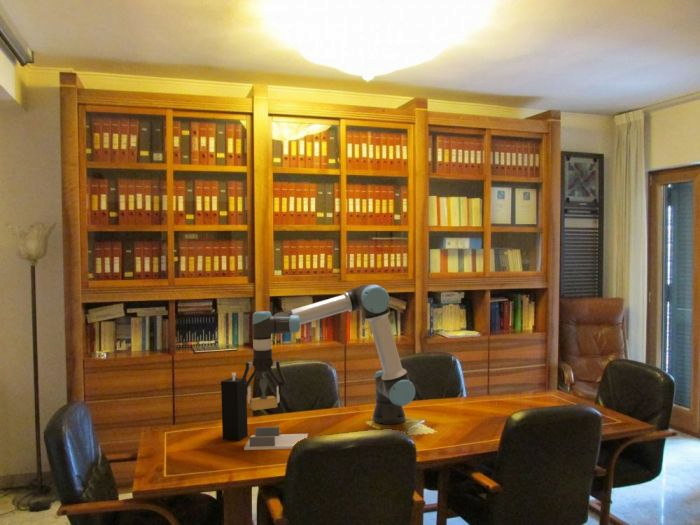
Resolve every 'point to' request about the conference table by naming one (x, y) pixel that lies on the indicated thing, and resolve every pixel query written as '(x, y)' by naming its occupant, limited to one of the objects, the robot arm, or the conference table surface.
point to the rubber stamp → (263, 398)
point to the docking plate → (272, 439)
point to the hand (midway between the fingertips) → (263, 402)
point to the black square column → (234, 409)
